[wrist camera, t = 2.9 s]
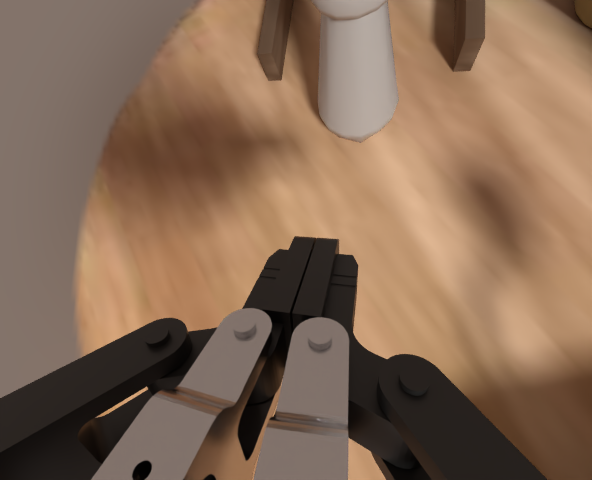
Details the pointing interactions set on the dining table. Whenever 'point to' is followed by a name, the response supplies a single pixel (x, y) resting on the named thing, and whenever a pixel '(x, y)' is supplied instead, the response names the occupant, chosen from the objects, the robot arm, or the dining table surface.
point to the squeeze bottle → (584, 11)
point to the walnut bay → (278, 21)
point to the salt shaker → (356, 67)
